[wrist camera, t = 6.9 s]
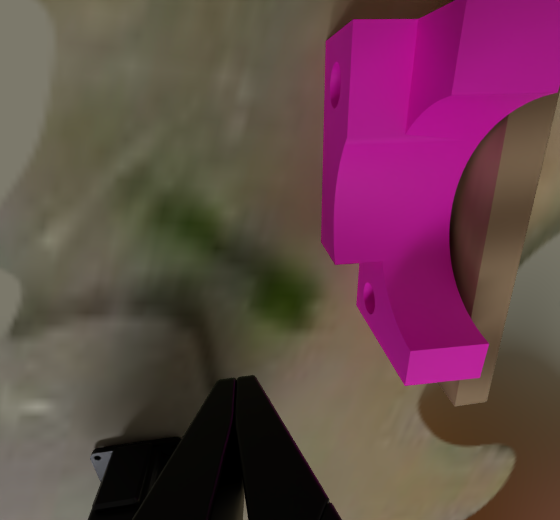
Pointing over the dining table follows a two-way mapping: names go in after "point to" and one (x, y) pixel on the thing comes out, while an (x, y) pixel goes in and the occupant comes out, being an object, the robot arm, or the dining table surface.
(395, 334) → the toy block
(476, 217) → the batten
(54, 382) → the dining table surface
